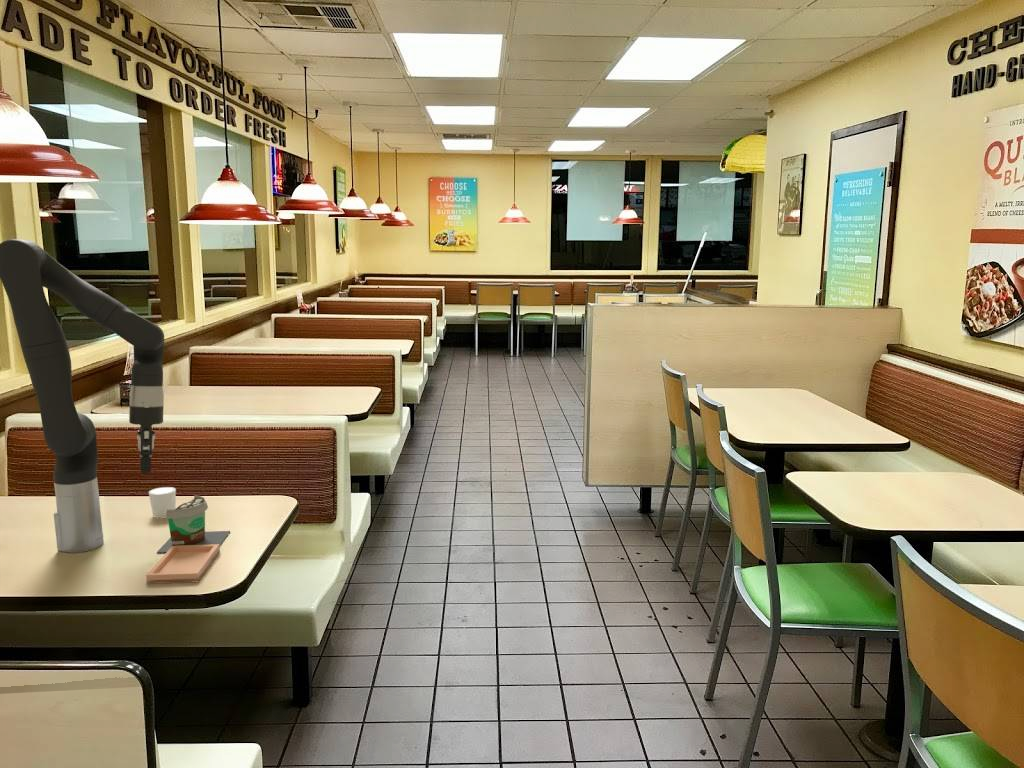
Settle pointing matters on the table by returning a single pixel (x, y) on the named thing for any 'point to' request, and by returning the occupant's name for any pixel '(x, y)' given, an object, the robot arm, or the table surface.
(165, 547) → the mat
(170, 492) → the white cup
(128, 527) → the table surface
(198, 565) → the dish
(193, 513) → the food container
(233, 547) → the table surface
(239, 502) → the table surface
